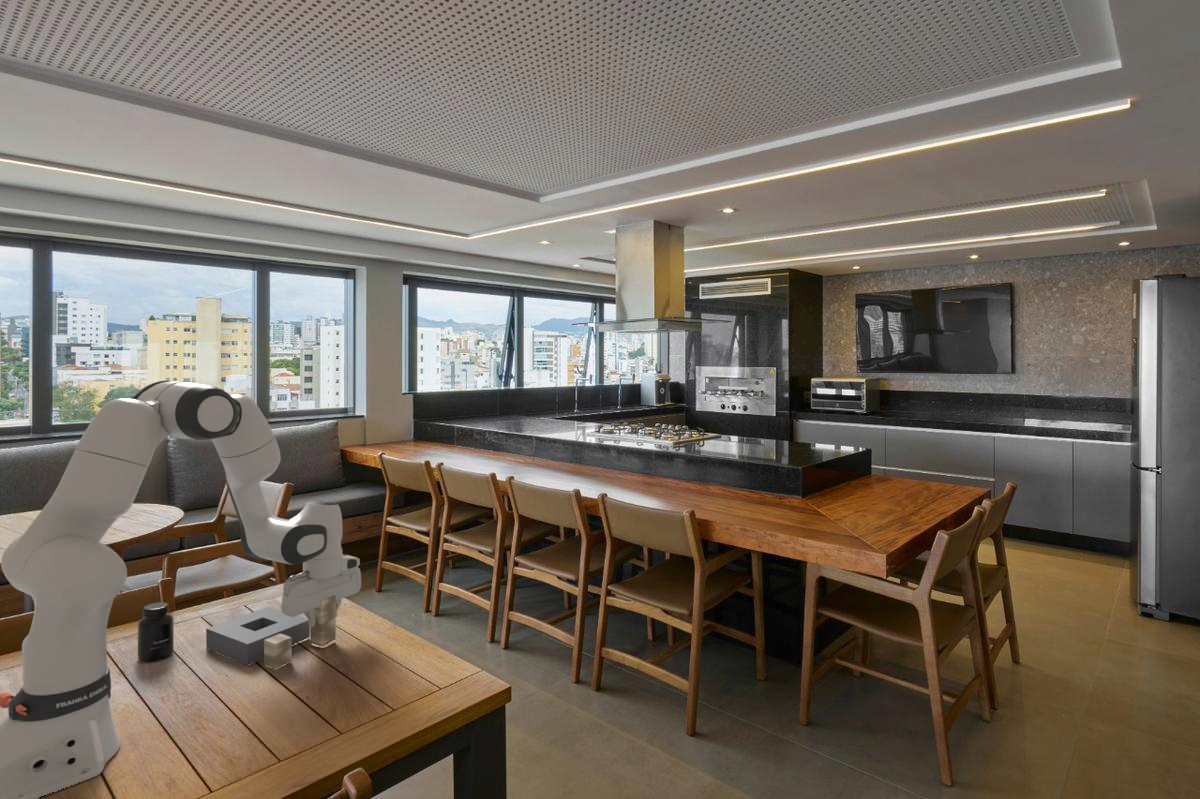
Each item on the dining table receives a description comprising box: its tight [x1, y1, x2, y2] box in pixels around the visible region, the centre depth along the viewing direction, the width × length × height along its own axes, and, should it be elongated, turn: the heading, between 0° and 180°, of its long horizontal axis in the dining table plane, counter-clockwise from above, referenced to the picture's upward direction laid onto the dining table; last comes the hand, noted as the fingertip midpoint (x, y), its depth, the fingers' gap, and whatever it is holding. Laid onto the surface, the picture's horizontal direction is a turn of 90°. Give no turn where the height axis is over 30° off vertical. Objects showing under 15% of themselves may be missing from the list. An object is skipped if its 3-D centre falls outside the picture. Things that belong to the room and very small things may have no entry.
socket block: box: [205, 606, 311, 666], centre depth 156 cm, size 16×16×5 cm
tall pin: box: [310, 595, 337, 646], centre depth 156 cm, size 4×4×12 cm
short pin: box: [263, 634, 293, 669], centre depth 146 cm, size 4×4×6 cm
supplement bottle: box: [137, 601, 175, 663], centre depth 148 cm, size 7×7×12 cm
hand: (323, 621), depth 156 cm, fingers closed on tall pin, 4 cm apart
